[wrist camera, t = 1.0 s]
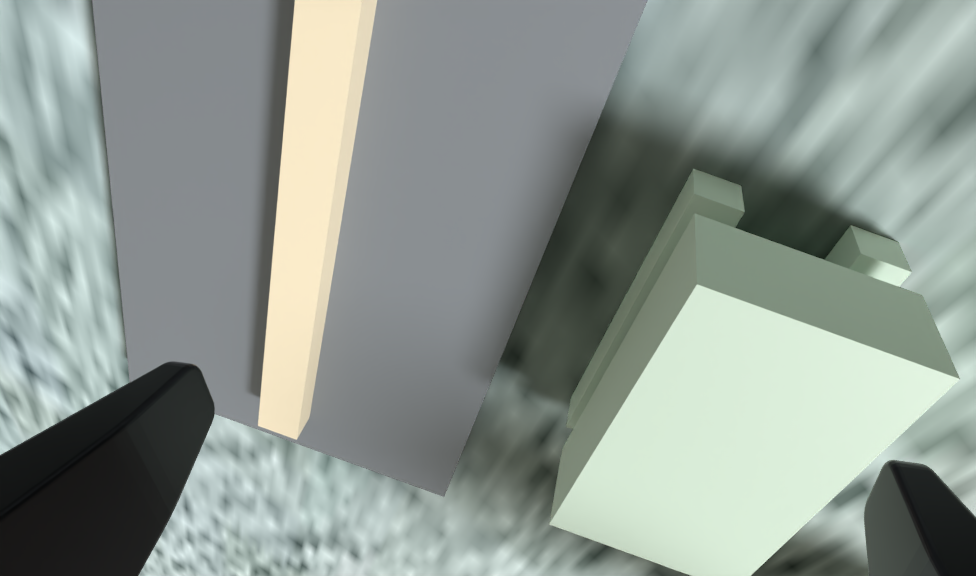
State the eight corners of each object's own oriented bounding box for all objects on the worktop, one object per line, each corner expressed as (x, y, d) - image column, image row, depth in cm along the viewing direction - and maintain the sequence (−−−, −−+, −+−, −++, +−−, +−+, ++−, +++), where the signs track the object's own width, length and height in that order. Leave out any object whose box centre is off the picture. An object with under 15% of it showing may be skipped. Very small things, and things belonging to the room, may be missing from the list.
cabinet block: (897, 240, 19) (960, 379, 15) (714, 464, 26) (721, 602, 22) (693, 167, 19) (696, 284, 15) (564, 409, 26) (541, 537, 22)
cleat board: (708, -157, 15) (711, -145, 13) (450, 477, 30) (436, 521, 28) (86, -379, 15) (9, -397, 13) (144, 367, 30) (111, 403, 28)
